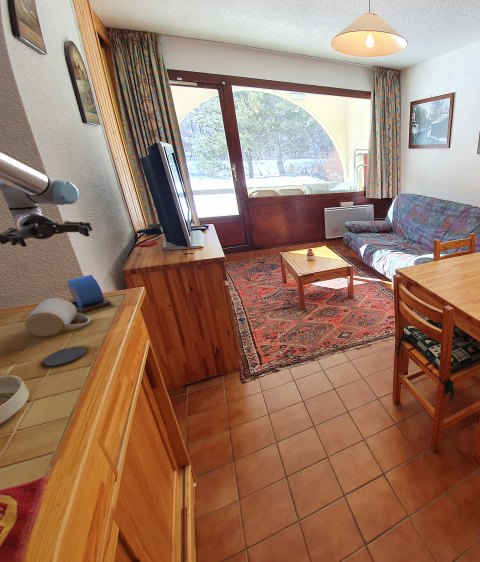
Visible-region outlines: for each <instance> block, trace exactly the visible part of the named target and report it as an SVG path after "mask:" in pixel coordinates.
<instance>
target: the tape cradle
mask: <svg viewBox="0 0 480 562" xmlns="http://www.w3.org/2000/svg"><path fill="white" fill-rule="evenodd" d="M68 301H69V302H71V303H72V304H73V305H74V306H75V307H76V309H77V311H79V313H80V314H86V313H89V312H93V311H95V310H98V309H102V308H105V307H109V306H111V305H112V303H111V301H110V300H108V299H104V300H103V301H100V302H97V303H94V304H90V305H87V306H83V307H79V306H78V304H77V303H76V301H75V300H74V298H73V299H68Z"/></svg>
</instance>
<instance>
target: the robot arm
mask: <svg viewBox="0 0 480 562" xmlns="http://www.w3.org/2000/svg"><path fill="white" fill-rule="evenodd" d="M0 189H1V192H2V193H3V196H4V199H5V201H6V202H7V204H8V207H9V210H10V212H11V214H12V216H13V219H14V224H15V226H16V227H17V228H18V229H19V230H18V229H17V228H15V227H9V228H7V229H6V230H5V231H2V232H0V245H6V244H8V243H10V245H11V246H17V245H20V246H21V247H23V248H25V247H28V245H27V243H26V241H25V240H27V239H35V240H47V239H49V238H51V237H53V236H54V235H62V234H64V233H78V234H80V235H82V236H84V237H90V233H89V232H92V231H93V227H92V224H91V222H86V221H85V222H84V221H69V220H65V221H63V223H61V222H59V221H58V222H57V221H56V222H55V221H53V220H52V219H51V218H49V217H47V216H45V215H42V214H43V213H42V214H41V212H42V210H41V208H40V209H39V207H40V205H59V206H64V205H73V204H75V203H77V202H78V201H79V197H80V193H79V189H78V188H77V186H76V185H74V183H72V182H71V181H68V180H62V179H58V180H56V179H54V178H52V177H50V176H48V175H46V174H44V173H42V172H40V171H38V170H36V169H34V168H33V167H30V166H28V165H26V164H25V163H23V162H21V161H18V160H17V159H15V158H13V157H11V156H9V155H7V154H5V153H3V152H2V151H0ZM38 204H39V205H38ZM26 209H27V210H26ZM40 210H41V211H40Z"/></svg>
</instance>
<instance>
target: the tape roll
mask: <svg viewBox="0 0 480 562" xmlns="http://www.w3.org/2000/svg"><path fill="white" fill-rule="evenodd" d="M67 287H68V289H69V292H70V295H71V296H72V298H73V299H74V300H75V301H76V303H77V304H78V306H79V307H83V306H87V305H90V304H94V303H97V302H100V301H103V300H105V299H104V294H103V291H102V288H101V286H100V284H99V282H98V281H97V279H96V278H95V276H93V275H92V274H88V275H85V276H80V277H76V278H70V279H68V280H67Z"/></svg>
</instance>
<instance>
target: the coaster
mask: <svg viewBox="0 0 480 562" xmlns="http://www.w3.org/2000/svg"><path fill="white" fill-rule="evenodd" d="M85 354H86V348H84V347H82V346H73V347H67V348H63V349H60V350H58V351H56V352H54V353H51V354H49V355H48V356H46V357H45V358H44V360H43V365H44V366H45V367H48V368H56V367H62V366H65V365H68V364H71V363H73V362H75V361H78V360H79V359H81V358H82V357H83V356H84V355H85Z"/></svg>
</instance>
